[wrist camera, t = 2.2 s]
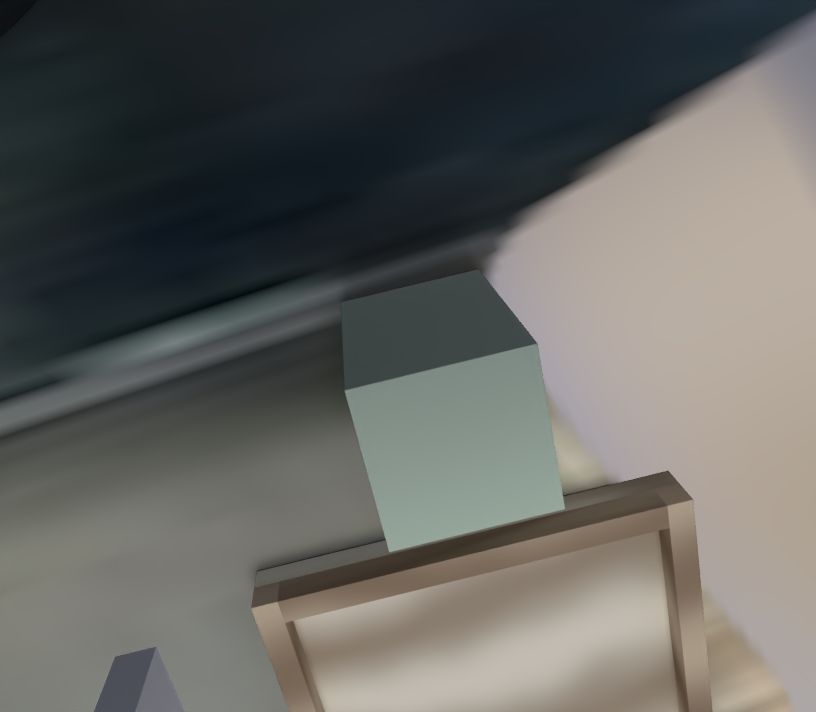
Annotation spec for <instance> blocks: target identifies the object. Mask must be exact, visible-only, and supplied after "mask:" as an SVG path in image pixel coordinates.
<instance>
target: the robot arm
mask: <svg viewBox="0 0 816 712" xmlns="http://www.w3.org/2000/svg"><path fill="white" fill-rule="evenodd" d="M34 1H35V0H0V36H1V35H2V34H3V33H4V32H6V31H7V30H8V29H9V28H10V27H11V26H13V25H14V24H15V23H16V22H17V21H18V20H19V18H20V17H21V16H22V15H23V14H24V13H25V12H26V11H27V10H28V9H29V7H30V6H31V5H32V4H33V2H34ZM94 712H184V710H183V708H182V705H181V703H180V701H179V698H178V696H177V694H176V691H175V689H174V687H173V685H172V682H171V680H170V678H169V675H168V673H167V671H166V668H165V666H164V664H163V662H162V659H161V657H160V655H159V652H158V650H157V648H156V647H153V648H149V649H145V650H141V651H137V652H133V653H129V654H125V655H121V656H117V657H115V659H114V662H113V664H112V667H111V669H110V672H109V674H108V677H107V680H106V682H105V685H104V687H103V690H102V693H101V695H100V698H99V700H98V703H97V705H96V708H95V711H94Z"/></svg>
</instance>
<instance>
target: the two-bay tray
mask: <svg viewBox="0 0 816 712" xmlns="http://www.w3.org/2000/svg"><path fill="white" fill-rule="evenodd" d="M563 499H564V505H565V509H563V510H559V511H555V512H551V513H547V514H543V515H538V516H534V517H530V518H526V519H522V520H518V521H514V522H510V523H506V524H502V525H498V526H494V527H490V528H486V529H482V530H478V531H474V532H470V533H466V534H462V535H457V536H453V537H449V538H445V539H441V540H437V541H433V542H429V543H425V544H421V545H417V546H413V547H409V548H405V549H401V550H397V551H393V552H389V549H388V546H387V542H386V540H384V541H380V542H376V543H372V544H368V545H364V546H359V547H355V548H351V549H347V550H343V551H339V552H335V553H331V554H327V555H323V556H319V557H315V558H311V559H307V560H302V561H298V562H294V563H290V564H286V565H282V566H278V567H274V568H270V569H266V570H262V571H258V572H257V574H256V580H255V587H254V593H253V600H252V606H251V609H252V612H253V615H254V617H255V620H256V623H257V625H258V628H259V631H260V633H261V636H262V639H263V641H264V644H265V647H266V650H267V652H268V655H269V658H270V660H271V663H272V666H273V668H274V671H275V674H276V676H277V679H278V682H279V685H280V687H281V690H282V693H283V695H284V698H285V701H286V703H287V706H288V709H289V711H290V712H712V701H711V690H710V679H709V668H708V657H707V646H706V635H705V624H704V613H703V602H702V591H701V580H700V569H699V558H698V547H697V537H696V525H695V514H694V503H693V499H692V498H691V497H690V495H689V494H688V493H687V492H686V491H685V490H684V489H683V487H682V486H681V485H680V484H679V483H678V482H677V480H676V479H675V478H674V477H673V476H672V475H671V474H670V472H669V471H666V472H661V473H657V474H653V475H649V476H645V477H641V478H637V479H633V480H629V481H624V482H620V483H616V484H612V485H608V486H604V487H600V488H596V489H592V490H588V491H584V492H580V493H575V494H571V495H567V496H563Z"/></svg>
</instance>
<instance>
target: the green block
mask: <svg viewBox="0 0 816 712" xmlns="http://www.w3.org/2000/svg"><path fill="white" fill-rule="evenodd" d="M341 319H342V342H343V366H344V389H345V394H346V398H347V401H348V405H349V408H350V412H351V416H352V419H353V423H354V426H355V430H356V434H357V437H358V441H359V444H360V448H361V452H362V455H363V459H364V463H365V466H366V470H367V473H368V477H369V481H370V484H371V488H372V491H373V495H374V499H375V502H376V506H377V510H378V513H379V517H380V520H381V524H382V528H383V531H384V535H385V538H386V542H387V546H388V549H389V552H393V551H397V550H401V549H405V548H409V547H413V546H417V545H421V544H425V543H429V542H433V541H437V540H441V539H445V538H449V537H453V536H457V535H462V534H466V533H470V532H474V531H478V530H482V529H486V528H490V527H494V526H498V525H502V524H506V523H510V522H514V521H518V520H522V519H526V518H530V517H534V516H538V515H543V514H547V513H551V512H555V511H559V510H563V509H565V505H564V499H563V493H562V487H561V481H560V475H559V469H558V463H557V457H556V451H555V445H554V439H553V434H552V428H551V422H550V416H549V410H548V404H547V398H546V392H545V386H544V380H543V374H542V368H541V362H540V356H539V350H538V344H537V343H536V341H535V340H534V339H533V337H532V336H531V335H530V334H529V332H528V331H527V330H526V328H525V327H524V326H523V325H522V324H521V322H520V321H519V320H518V318H517V317H516V316H515V315H514V313H513V312H512V311H511V310H510V308H509V307H508V306H507V305H506V303H505V302H504V301H503V300H502V298H501V297H500V296H499V295H498V293H497V292H496V291H495V290H494V288H493V287H492V286H491V284H490V283H489V282H488V281H487V279H486V278H485V277H484V276H483V274H482V273H481V272H480V271H479V269H477V270H473V271H469V272H465V273H461V274H457V275H453V276H448V277H444V278H440V279H436V280H432V281H428V282H424V283H419V284H415V285H411V286H407V287H403V288H399V289H395V290H390V291H386V292H382V293H378V294H374V295H370V296H366V297H361V298H357V299H353V300H349V301H345V302H341Z"/></svg>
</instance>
